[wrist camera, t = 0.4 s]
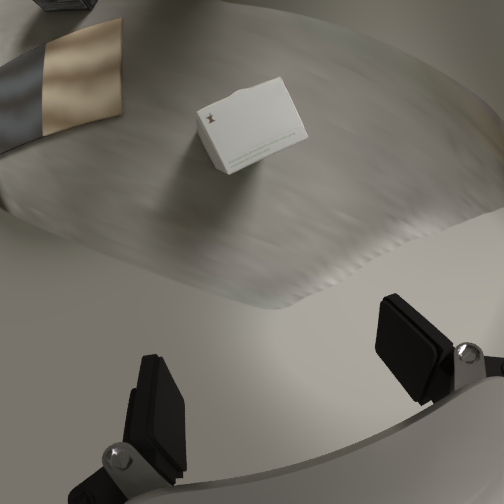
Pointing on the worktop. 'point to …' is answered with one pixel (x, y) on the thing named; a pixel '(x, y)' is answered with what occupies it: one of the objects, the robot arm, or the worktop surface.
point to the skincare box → (249, 126)
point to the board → (61, 85)
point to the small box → (65, 5)
